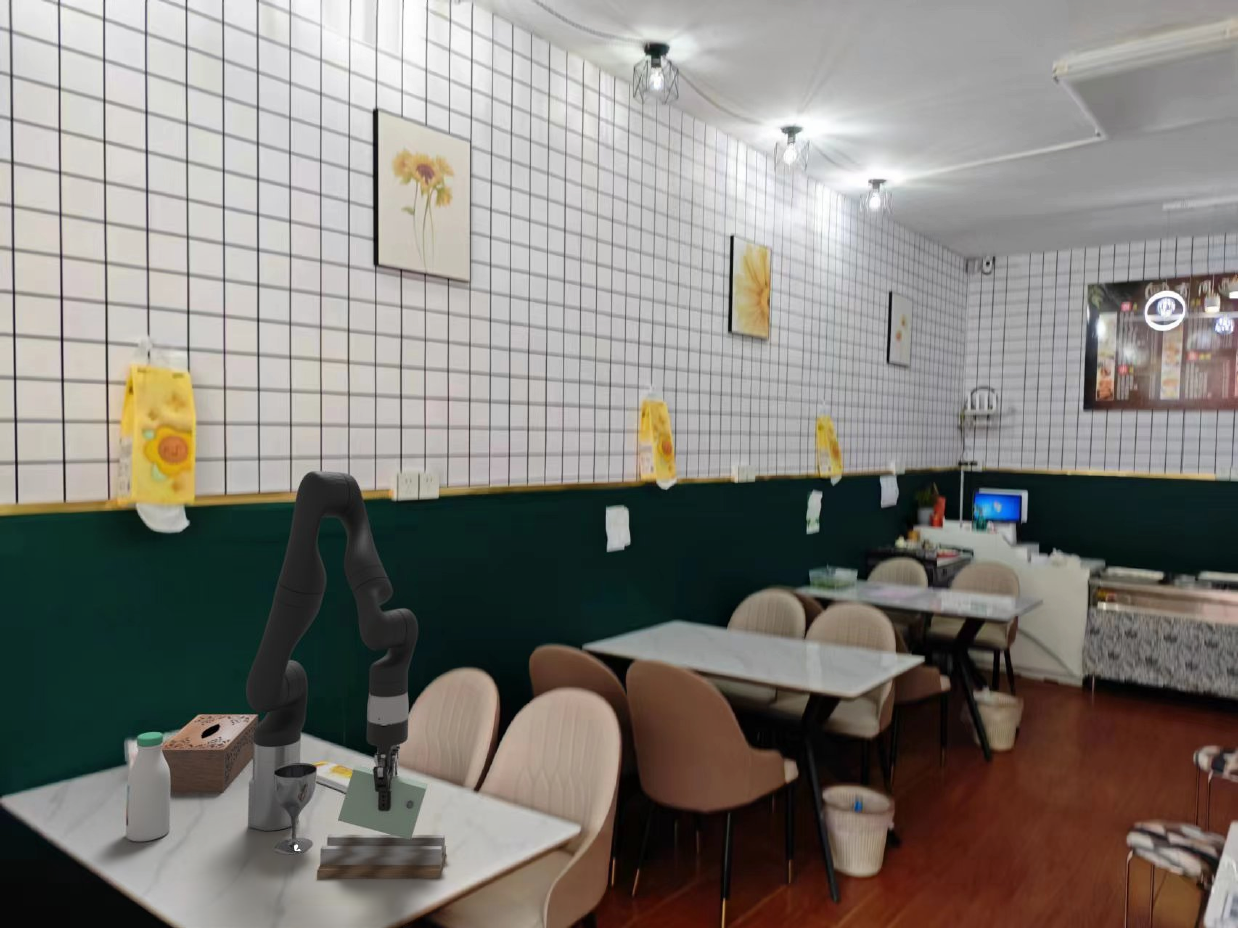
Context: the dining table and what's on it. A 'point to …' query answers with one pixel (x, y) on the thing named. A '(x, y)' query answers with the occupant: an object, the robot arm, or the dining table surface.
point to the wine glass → (294, 800)
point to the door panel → (364, 804)
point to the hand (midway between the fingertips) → (385, 806)
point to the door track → (382, 856)
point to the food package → (333, 775)
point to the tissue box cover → (209, 752)
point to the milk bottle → (148, 791)
